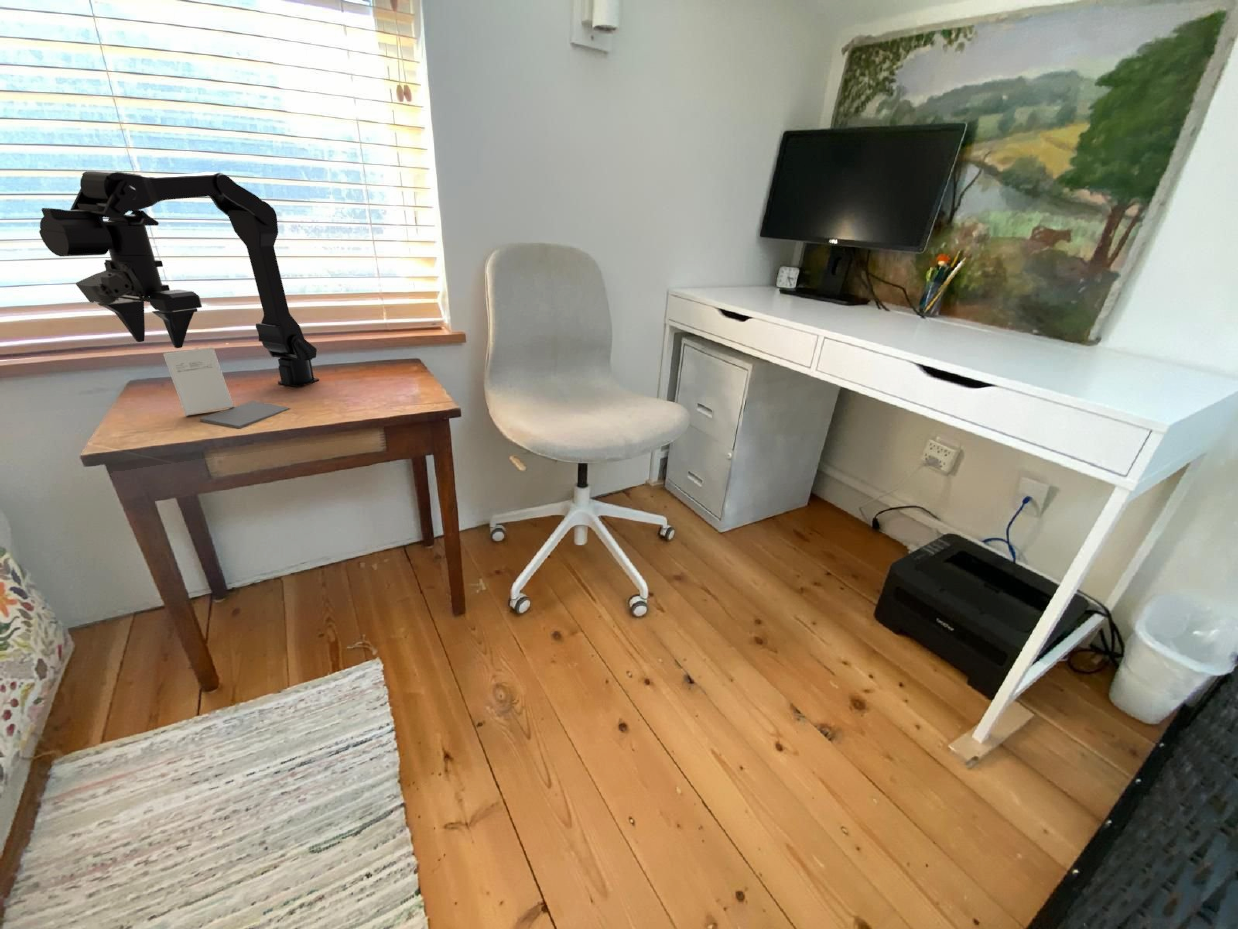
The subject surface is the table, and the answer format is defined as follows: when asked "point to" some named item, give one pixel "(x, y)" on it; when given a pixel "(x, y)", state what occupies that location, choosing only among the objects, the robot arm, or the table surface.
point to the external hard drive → (198, 380)
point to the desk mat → (244, 414)
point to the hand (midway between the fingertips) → (159, 344)
